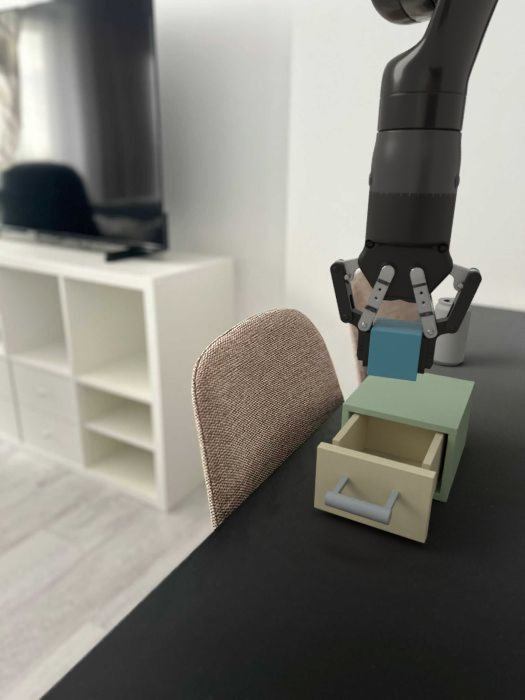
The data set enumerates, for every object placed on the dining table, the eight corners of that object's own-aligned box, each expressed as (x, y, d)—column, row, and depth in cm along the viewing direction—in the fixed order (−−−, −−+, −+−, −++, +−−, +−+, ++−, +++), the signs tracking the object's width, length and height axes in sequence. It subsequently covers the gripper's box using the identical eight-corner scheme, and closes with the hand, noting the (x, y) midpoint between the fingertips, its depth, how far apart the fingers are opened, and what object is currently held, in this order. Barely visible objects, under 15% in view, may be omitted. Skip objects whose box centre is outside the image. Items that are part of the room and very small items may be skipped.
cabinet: (446, 502, 56) (457, 429, 53) (337, 471, 62) (342, 403, 59) (465, 444, 69) (475, 381, 66) (373, 422, 74) (378, 364, 71)
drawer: (413, 574, 45) (423, 504, 43) (295, 532, 50) (298, 468, 48) (448, 474, 60) (457, 418, 58) (355, 449, 65) (359, 397, 63)
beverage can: (432, 353, 103) (440, 294, 99) (466, 359, 100) (475, 299, 96) (424, 362, 98) (432, 301, 94) (459, 369, 94) (469, 306, 90)
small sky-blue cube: (418, 365, 52) (423, 322, 51) (416, 381, 48) (421, 335, 47) (372, 359, 54) (376, 317, 52) (366, 375, 50) (370, 329, 48)
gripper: (496, 188, 46) (468, 364, 52) (339, 185, 51) (329, 347, 56) (505, 191, 40) (471, 392, 45) (324, 186, 44) (314, 371, 50)
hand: (393, 367), depth 51 cm, fingers closed on small sky-blue cube, 4 cm apart
